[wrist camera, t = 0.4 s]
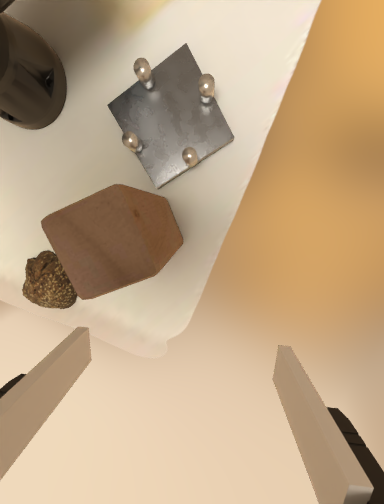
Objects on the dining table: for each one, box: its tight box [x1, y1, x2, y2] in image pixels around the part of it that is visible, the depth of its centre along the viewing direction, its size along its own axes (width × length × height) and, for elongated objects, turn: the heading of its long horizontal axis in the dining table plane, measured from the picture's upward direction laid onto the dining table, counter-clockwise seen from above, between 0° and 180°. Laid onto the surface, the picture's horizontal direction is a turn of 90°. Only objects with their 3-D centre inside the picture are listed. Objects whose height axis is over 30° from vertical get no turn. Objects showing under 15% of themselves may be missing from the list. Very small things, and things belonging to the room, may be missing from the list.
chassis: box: [108, 43, 234, 189], centre depth 32 cm, size 17×17×4 cm
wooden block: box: [41, 184, 183, 300], centre depth 29 cm, size 10×10×20 cm
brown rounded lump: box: [22, 251, 77, 309], centre depth 41 cm, size 13×12×5 cm
